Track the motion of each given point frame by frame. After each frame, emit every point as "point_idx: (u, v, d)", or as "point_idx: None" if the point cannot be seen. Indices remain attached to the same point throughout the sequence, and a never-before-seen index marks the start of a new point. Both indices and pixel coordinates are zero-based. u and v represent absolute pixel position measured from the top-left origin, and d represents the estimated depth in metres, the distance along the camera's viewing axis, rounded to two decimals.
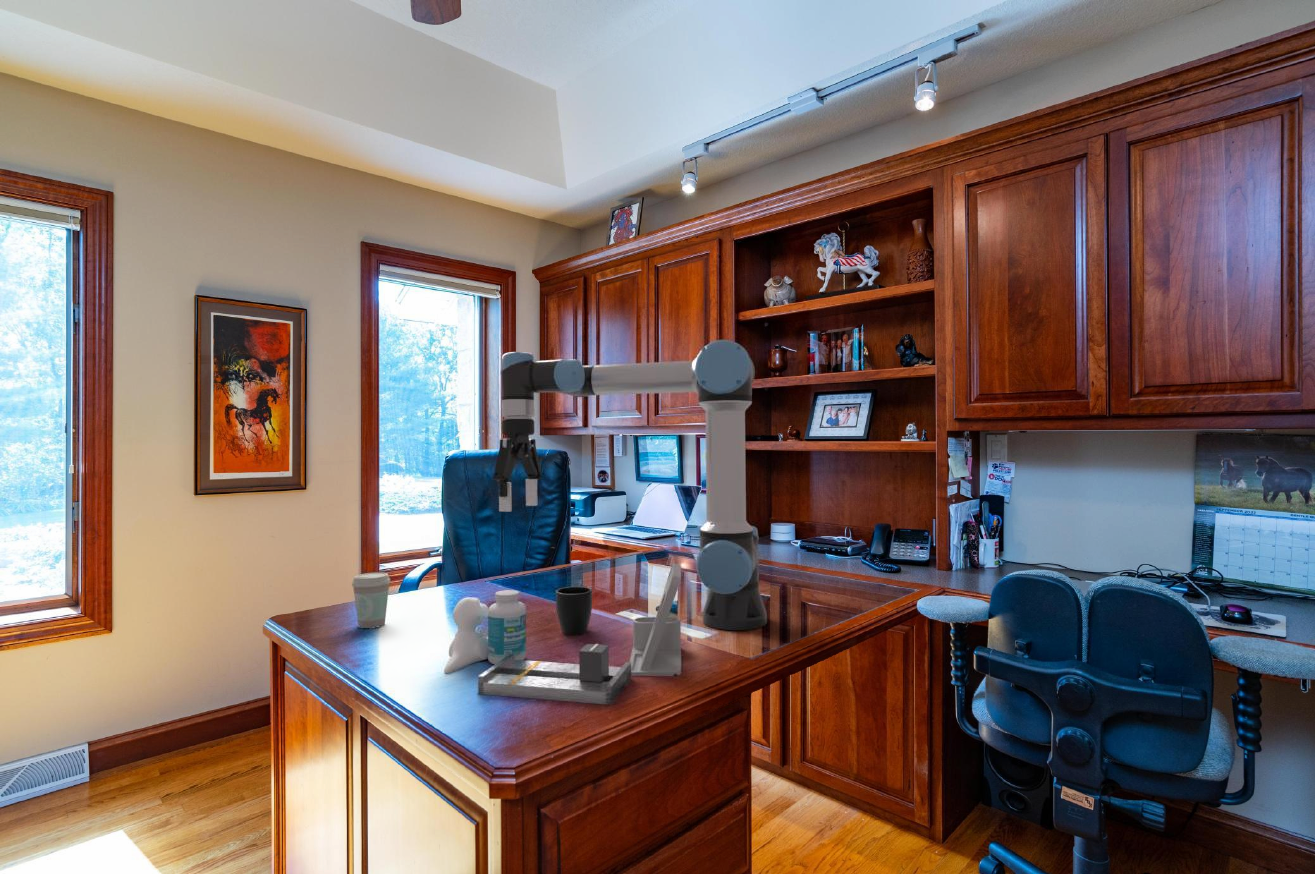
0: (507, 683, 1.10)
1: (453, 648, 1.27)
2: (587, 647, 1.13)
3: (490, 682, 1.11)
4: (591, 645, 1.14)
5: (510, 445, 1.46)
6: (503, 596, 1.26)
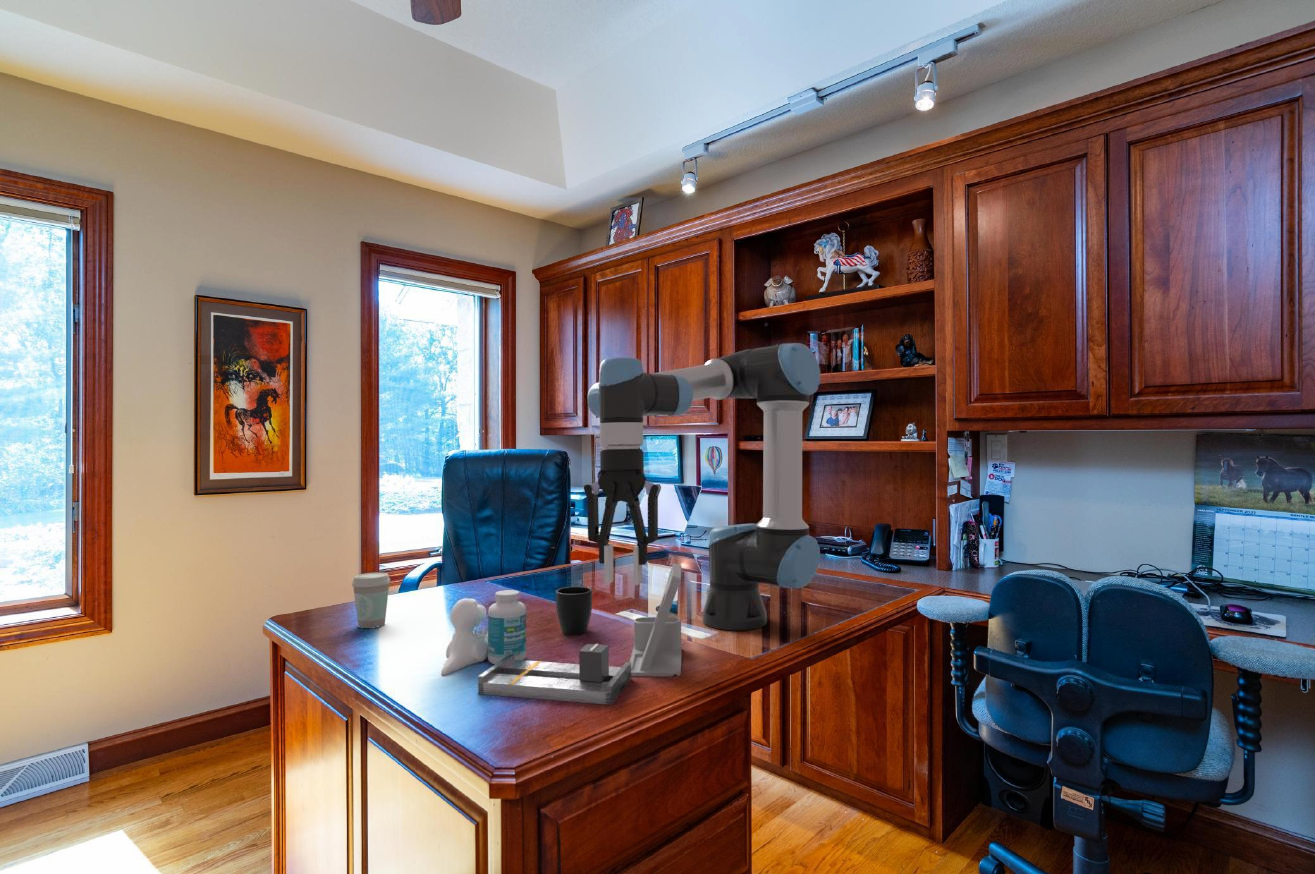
0: (507, 683, 1.10)
1: (450, 649, 1.26)
2: (587, 647, 1.13)
3: (490, 682, 1.11)
4: (591, 645, 1.14)
5: (588, 493, 1.12)
6: (503, 596, 1.26)
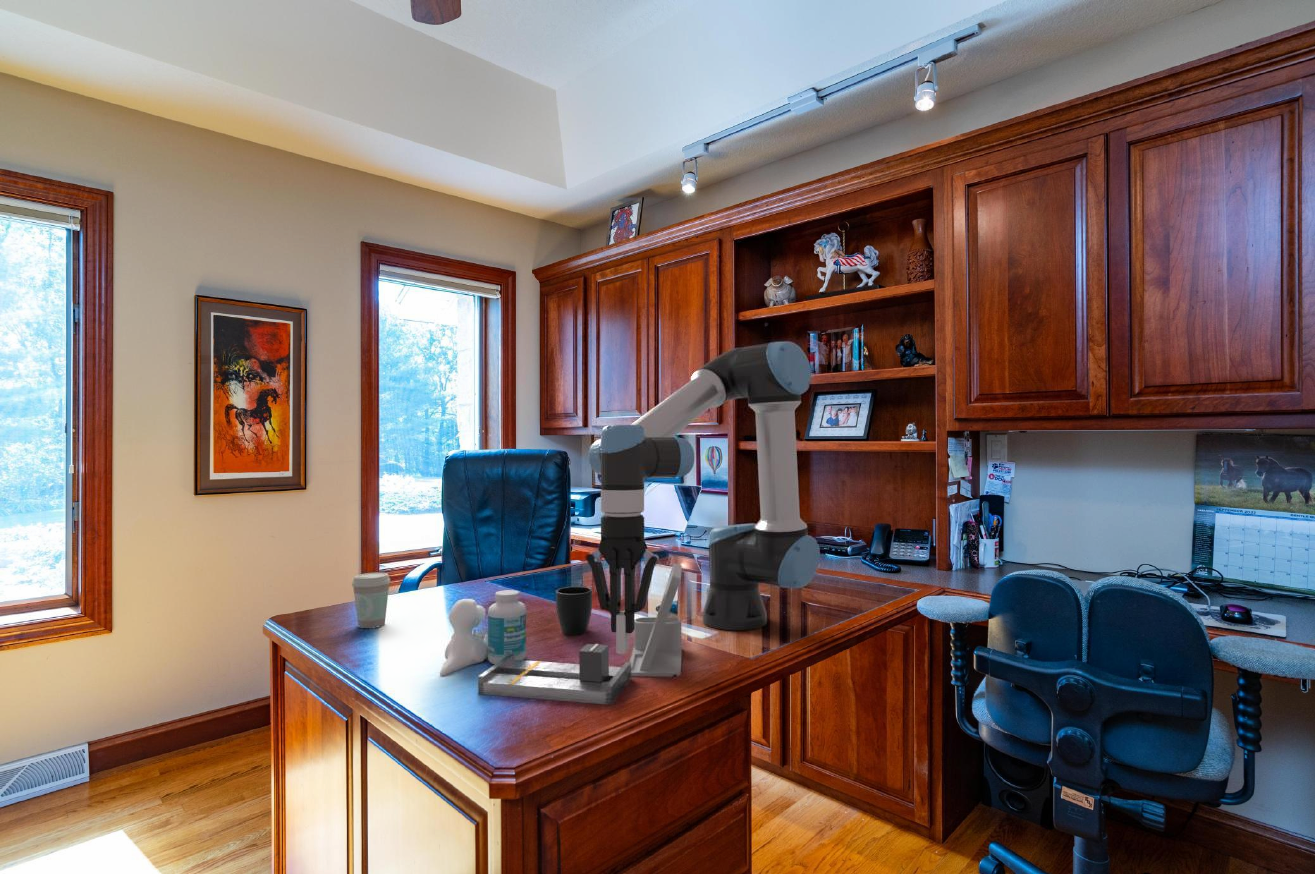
0: (507, 683, 1.10)
1: (449, 650, 1.26)
2: (587, 647, 1.13)
3: (490, 682, 1.11)
4: (591, 645, 1.14)
5: (591, 562, 1.11)
6: (503, 596, 1.26)
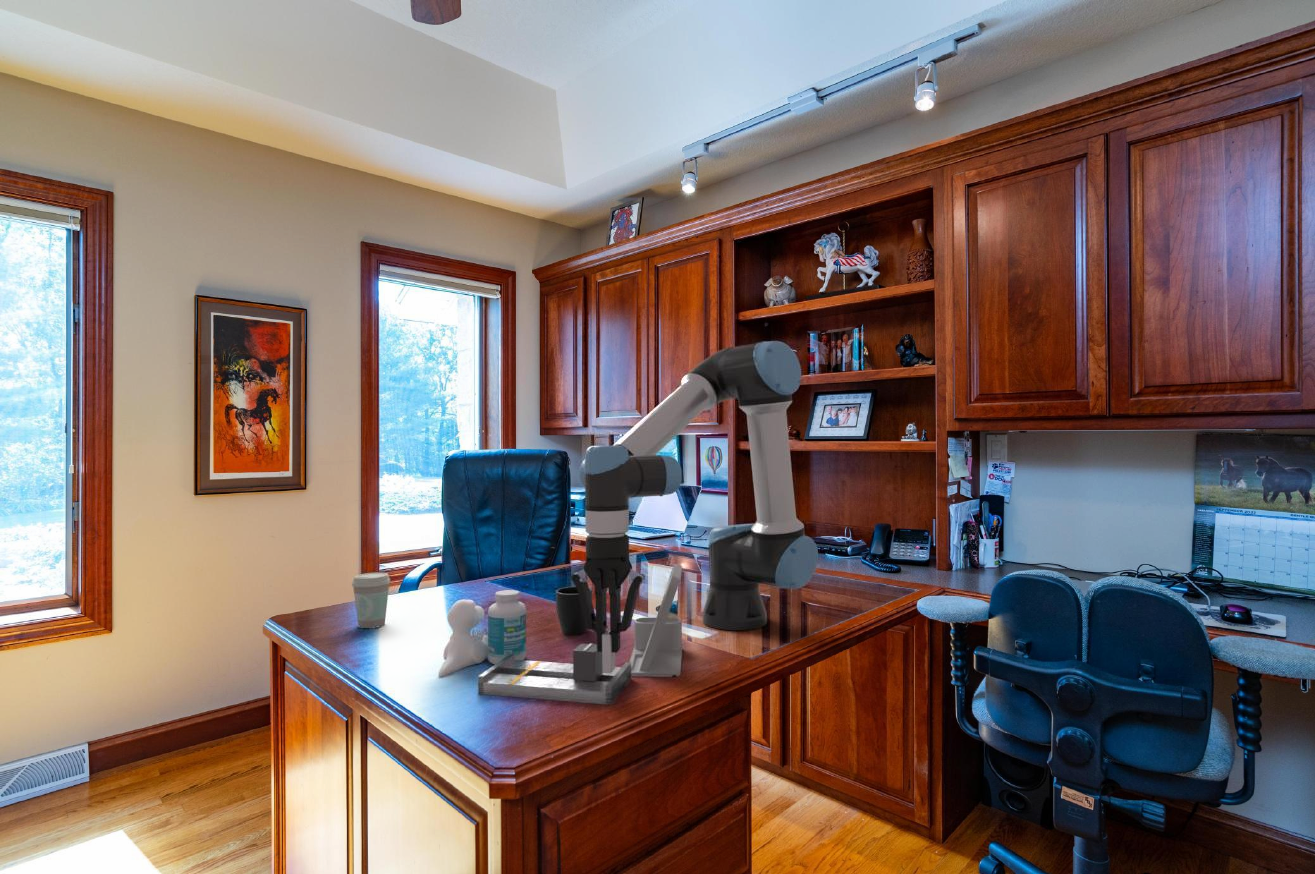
0: (507, 683, 1.10)
1: (448, 651, 1.25)
2: (581, 646, 1.13)
3: (490, 682, 1.11)
4: (585, 645, 1.14)
5: (577, 582, 1.12)
6: (503, 596, 1.26)
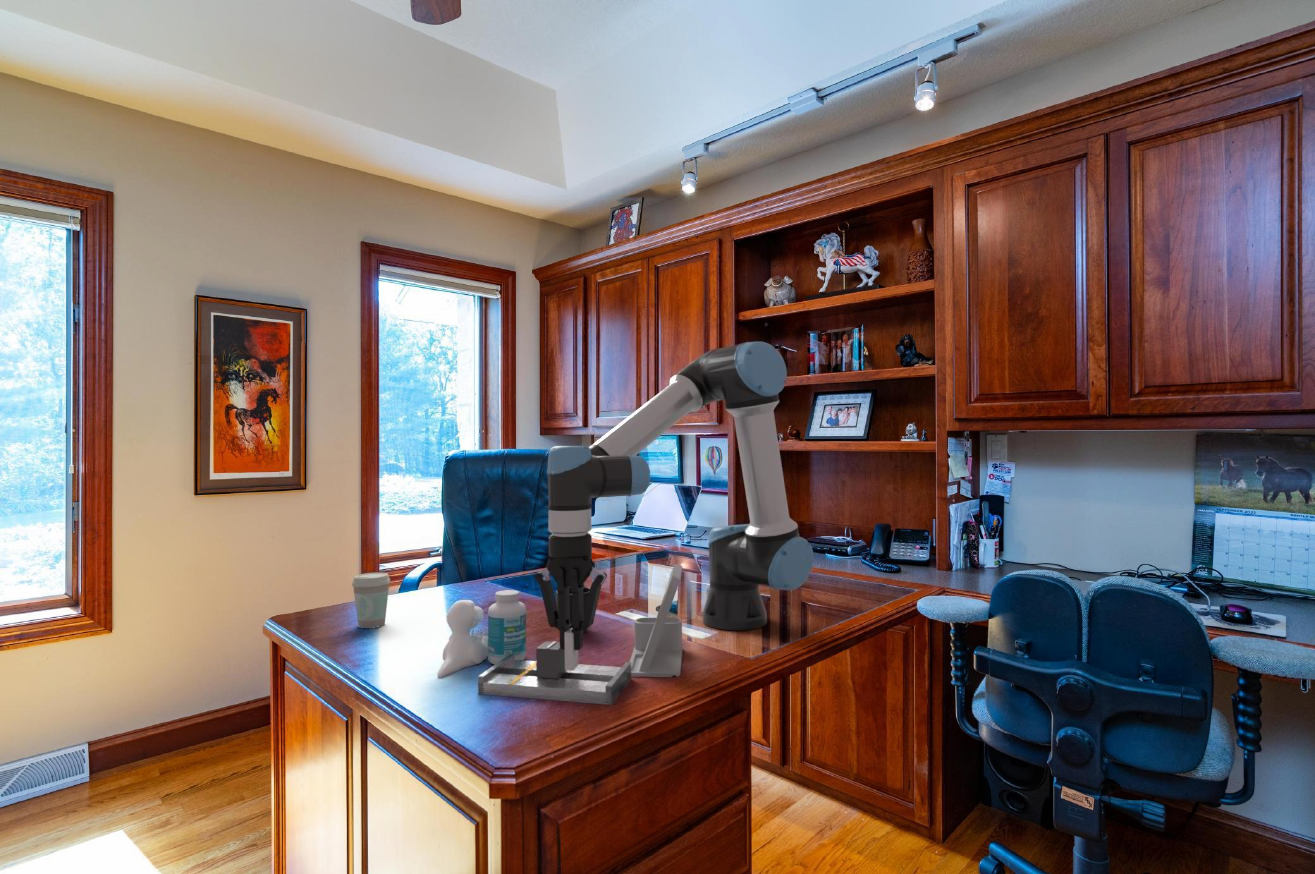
0: (507, 683, 1.10)
1: (447, 651, 1.25)
2: (545, 644, 1.15)
3: (490, 682, 1.11)
4: (549, 642, 1.16)
5: (540, 581, 1.14)
6: (503, 596, 1.26)
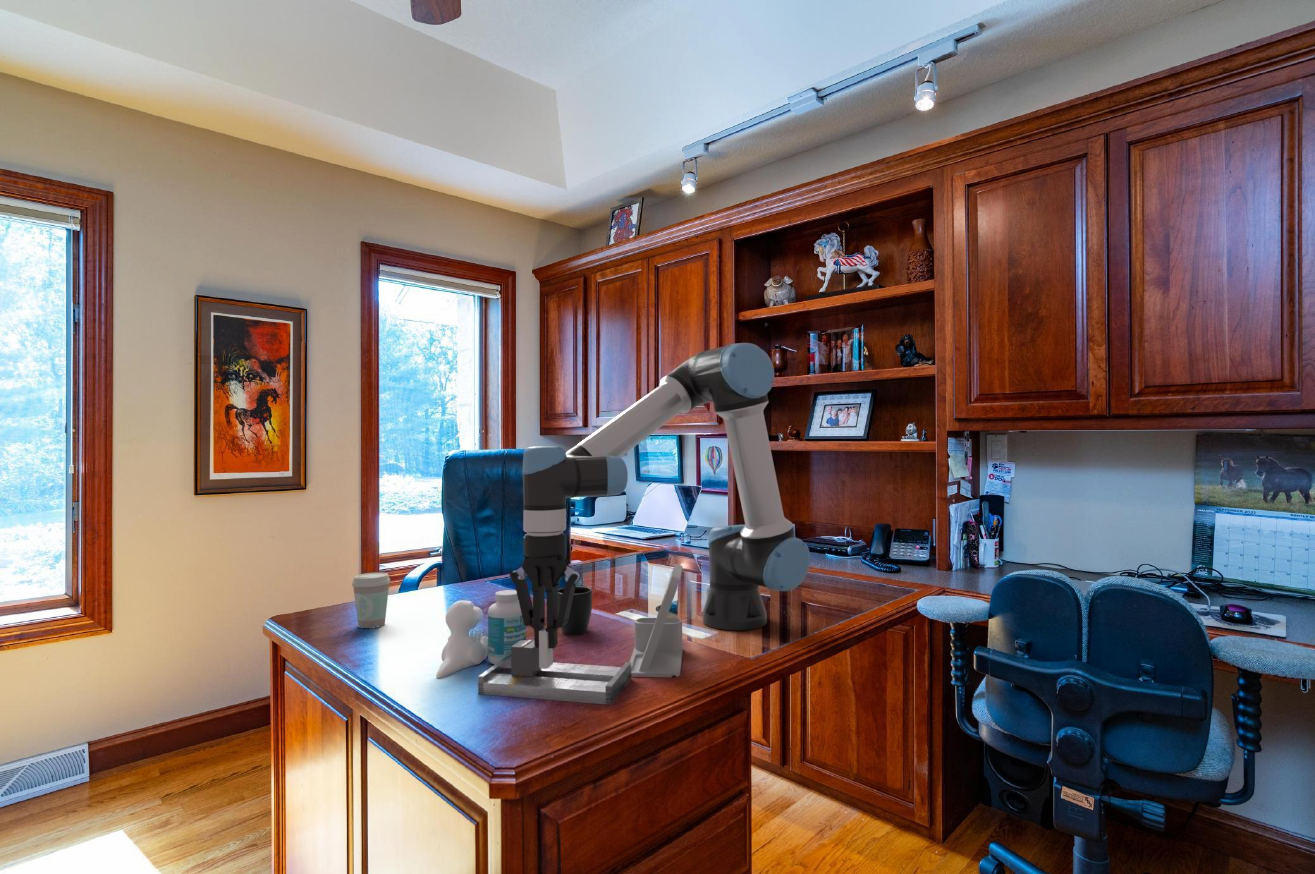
0: (507, 683, 1.10)
1: (446, 652, 1.25)
2: (520, 642, 1.16)
3: (490, 682, 1.11)
4: (524, 641, 1.17)
5: (515, 580, 1.15)
6: (503, 596, 1.26)
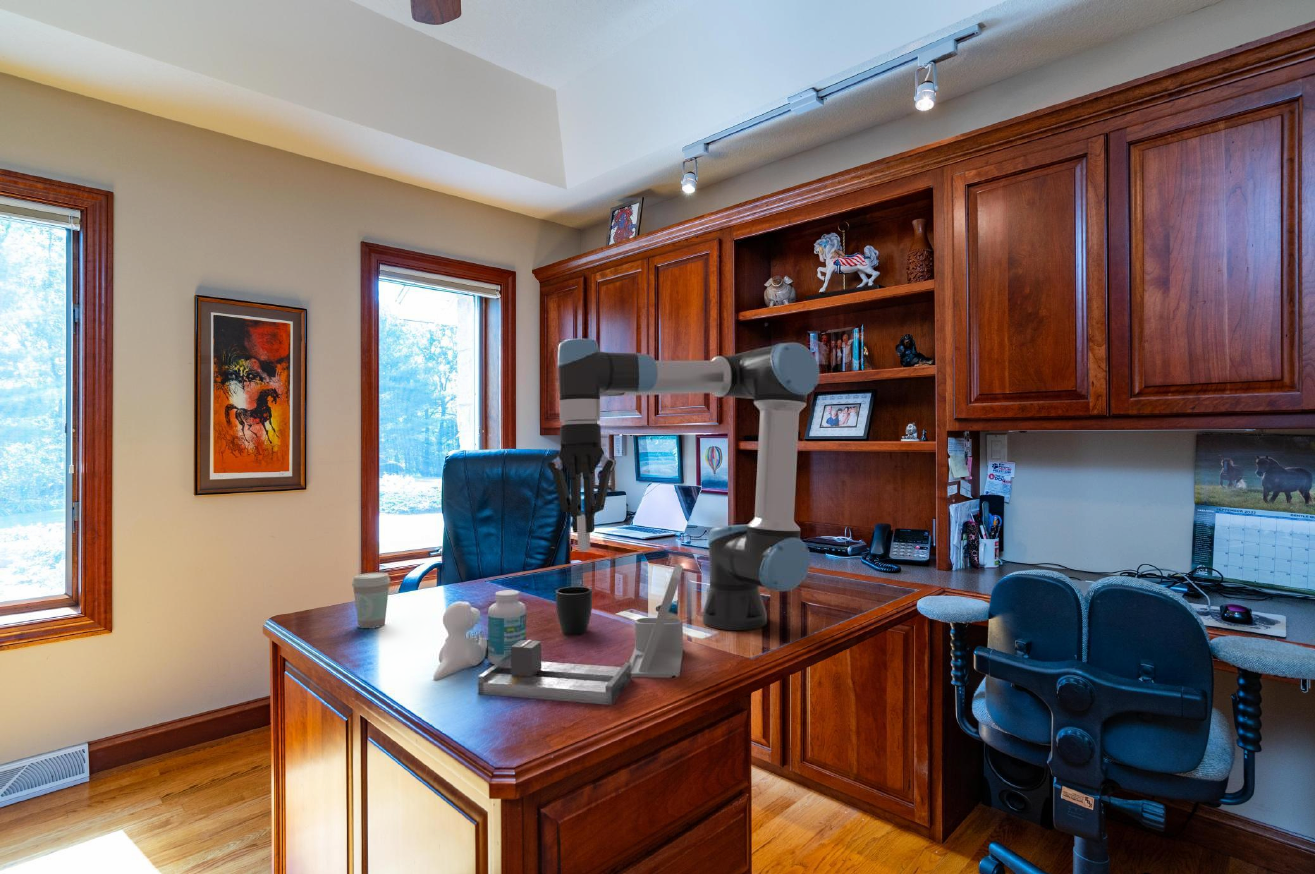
0: (507, 683, 1.10)
1: (443, 653, 1.24)
2: (520, 642, 1.16)
3: (490, 682, 1.11)
4: (524, 641, 1.17)
5: (552, 469, 1.20)
6: (503, 596, 1.26)
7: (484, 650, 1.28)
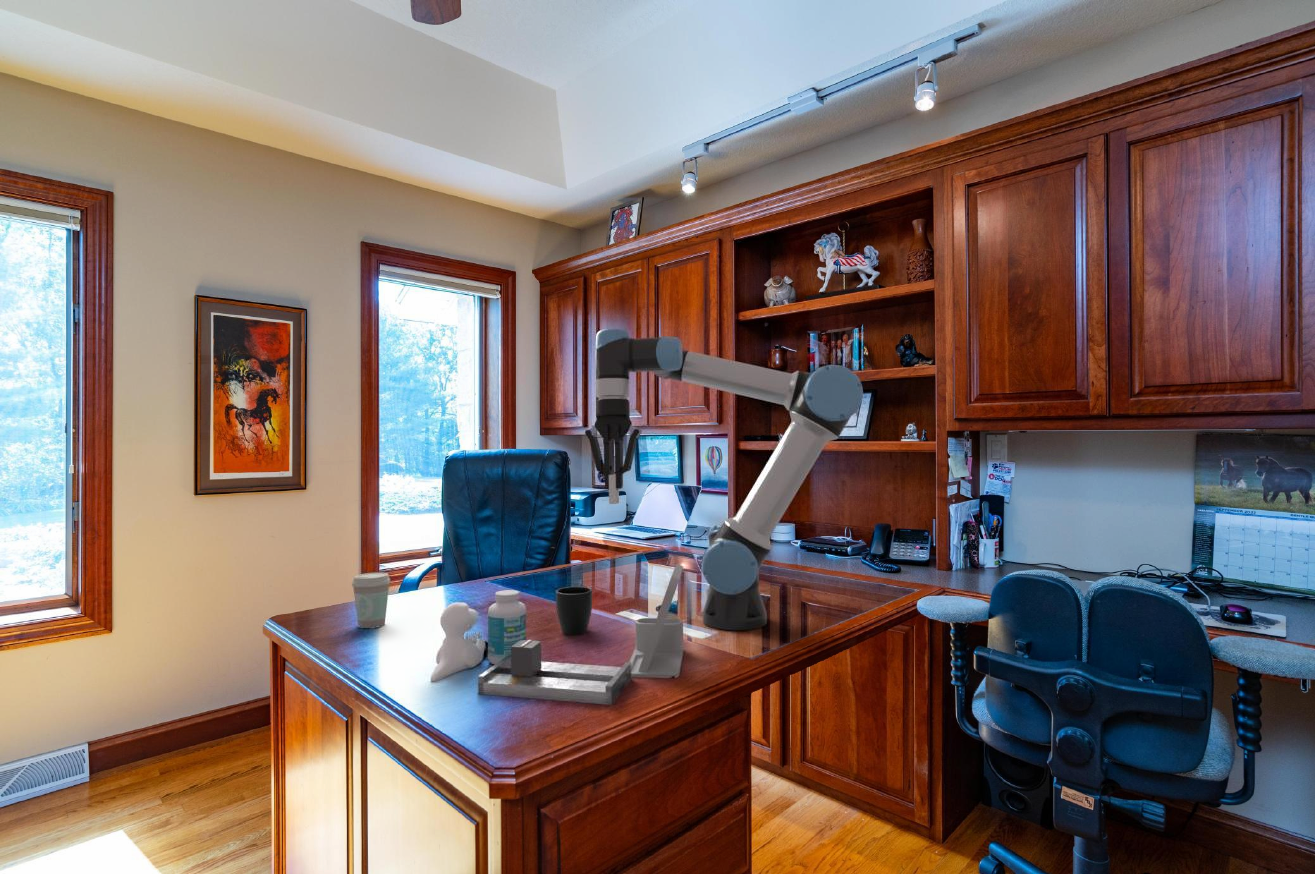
0: (507, 683, 1.10)
1: (441, 655, 1.23)
2: (520, 642, 1.16)
3: (490, 682, 1.11)
4: (524, 641, 1.17)
5: (589, 436, 1.46)
6: (503, 596, 1.26)
7: (482, 651, 1.27)
